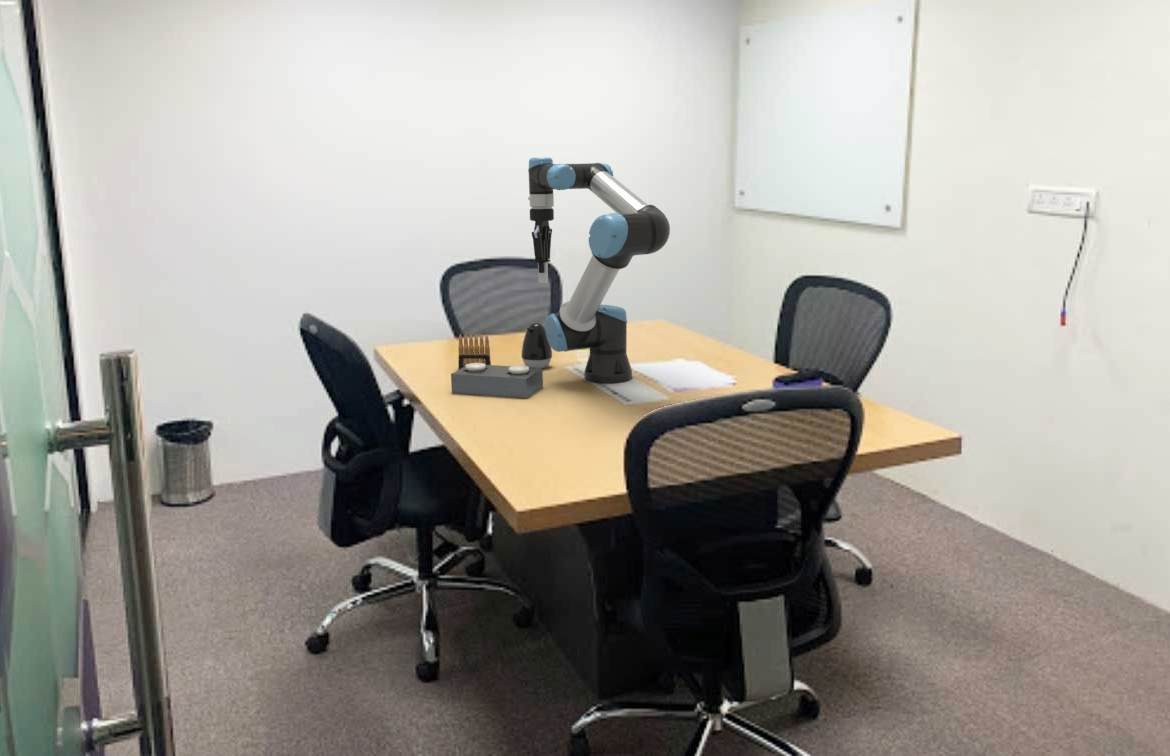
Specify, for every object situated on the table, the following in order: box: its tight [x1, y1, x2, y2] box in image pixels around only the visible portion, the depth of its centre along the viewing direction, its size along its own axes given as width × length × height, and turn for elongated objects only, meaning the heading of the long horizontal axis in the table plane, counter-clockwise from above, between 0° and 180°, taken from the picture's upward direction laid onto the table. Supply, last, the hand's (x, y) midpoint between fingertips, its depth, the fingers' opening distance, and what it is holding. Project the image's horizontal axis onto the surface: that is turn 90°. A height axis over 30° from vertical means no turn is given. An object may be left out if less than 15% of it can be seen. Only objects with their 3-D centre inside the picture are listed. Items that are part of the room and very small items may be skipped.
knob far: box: [466, 362, 486, 372], centre depth 285 cm, size 6×6×7 cm
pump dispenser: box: [521, 322, 553, 369], centre depth 311 cm, size 10×10×15 cm
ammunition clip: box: [457, 333, 492, 370], centre depth 310 cm, size 11×2×12 cm, turn 85°
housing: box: [450, 364, 544, 399], centre depth 283 cm, size 24×14×6 cm, turn 73°
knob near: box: [509, 364, 529, 375], centre depth 281 cm, size 6×6×7 cm
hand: (543, 282), depth 299 cm, fingers closed
